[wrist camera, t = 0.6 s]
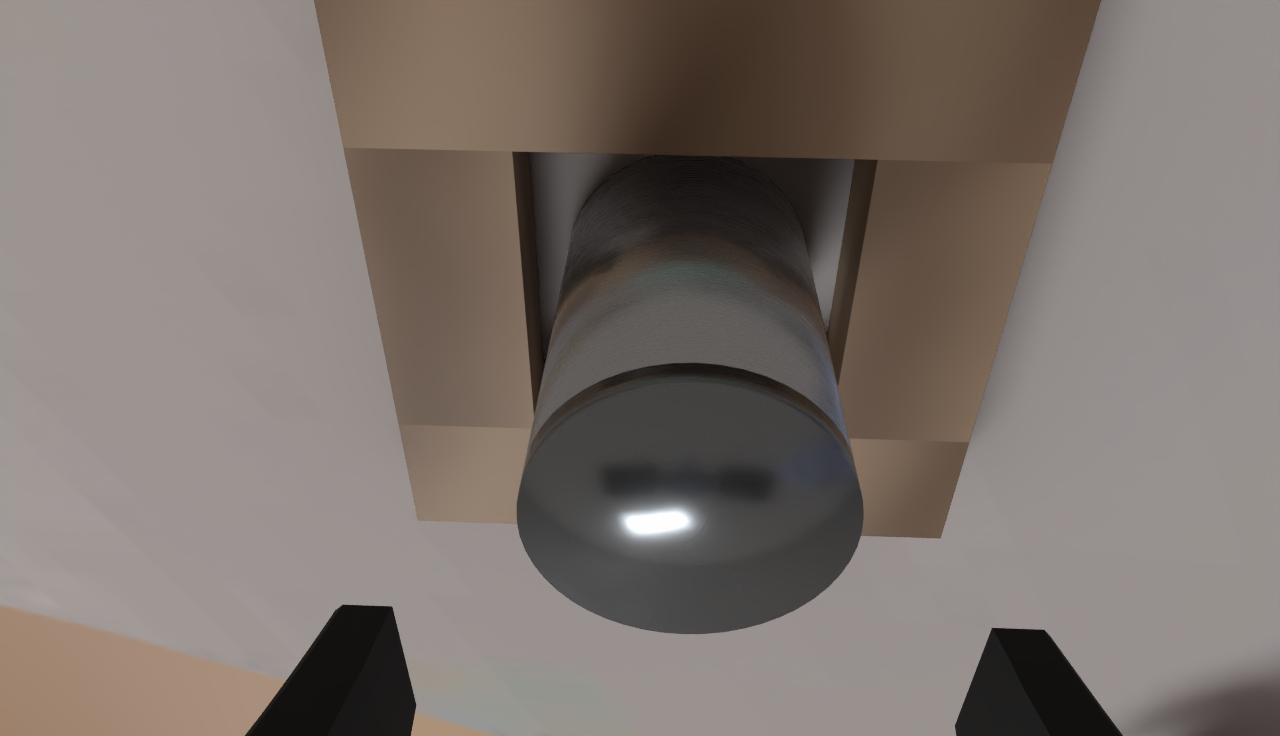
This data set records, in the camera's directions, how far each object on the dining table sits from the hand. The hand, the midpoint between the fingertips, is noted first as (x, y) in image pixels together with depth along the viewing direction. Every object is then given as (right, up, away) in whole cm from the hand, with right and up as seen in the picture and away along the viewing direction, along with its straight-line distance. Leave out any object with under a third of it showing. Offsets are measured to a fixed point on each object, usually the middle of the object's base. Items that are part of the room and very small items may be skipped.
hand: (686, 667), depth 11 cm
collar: (0, +6, +8) cm, 10 cm away
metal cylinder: (0, +6, +8) cm, 10 cm away
